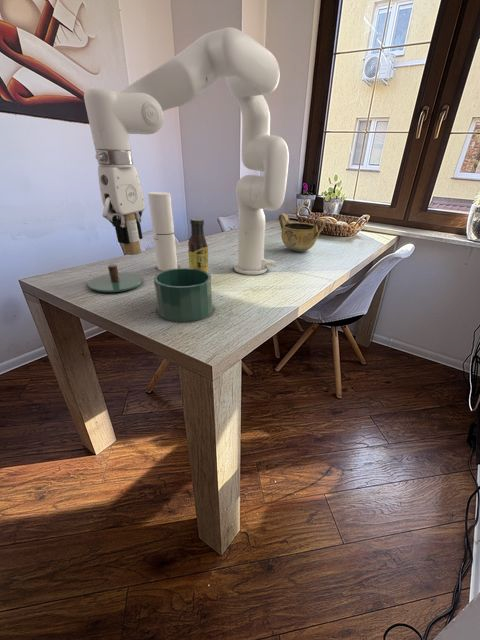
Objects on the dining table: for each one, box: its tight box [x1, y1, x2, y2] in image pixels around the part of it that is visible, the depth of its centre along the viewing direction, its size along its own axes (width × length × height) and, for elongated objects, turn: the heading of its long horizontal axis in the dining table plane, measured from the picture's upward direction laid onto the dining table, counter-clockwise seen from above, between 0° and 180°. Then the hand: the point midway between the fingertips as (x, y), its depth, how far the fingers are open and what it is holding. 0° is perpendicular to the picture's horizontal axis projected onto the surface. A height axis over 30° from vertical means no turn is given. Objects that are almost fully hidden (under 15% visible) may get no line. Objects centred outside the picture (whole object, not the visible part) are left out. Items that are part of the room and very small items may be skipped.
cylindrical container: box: [147, 191, 178, 271], centre depth 109 cm, size 7×7×25 cm
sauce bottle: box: [187, 217, 209, 273], centre depth 100 cm, size 7×6×20 cm
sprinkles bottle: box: [117, 213, 142, 256], centre depth 79 cm, size 5×5×14 cm
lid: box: [87, 263, 143, 293], centre depth 97 cm, size 16×16×6 cm
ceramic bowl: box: [278, 213, 327, 253], centre depth 142 cm, size 22×17×15 cm
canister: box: [153, 267, 213, 323], centre depth 84 cm, size 15×15×10 cm
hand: (130, 239), depth 81 cm, fingers closed on sprinkles bottle, 4 cm apart
